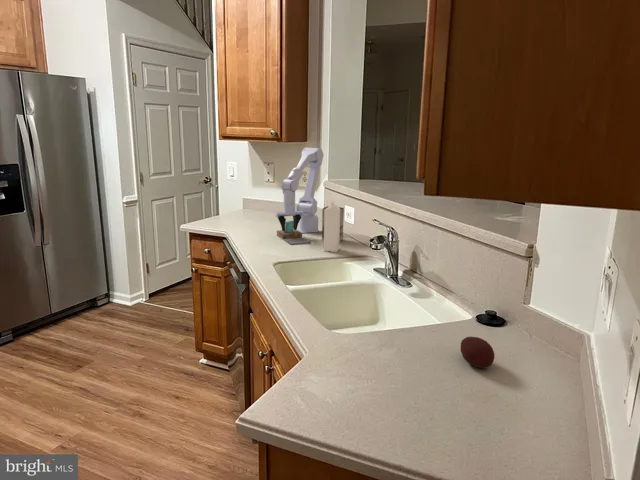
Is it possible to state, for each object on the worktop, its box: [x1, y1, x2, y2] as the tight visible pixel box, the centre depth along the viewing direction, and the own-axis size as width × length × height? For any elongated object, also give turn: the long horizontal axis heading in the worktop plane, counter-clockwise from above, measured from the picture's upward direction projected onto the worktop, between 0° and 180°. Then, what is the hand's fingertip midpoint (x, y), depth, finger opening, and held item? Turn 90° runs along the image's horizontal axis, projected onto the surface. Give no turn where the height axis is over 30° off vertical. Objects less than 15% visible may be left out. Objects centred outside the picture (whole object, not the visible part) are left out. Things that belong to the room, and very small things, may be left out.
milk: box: [323, 201, 340, 253], centre depth 207 cm, size 6×6×22 cm
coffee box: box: [321, 206, 345, 242], centre depth 227 cm, size 9×6×16 cm
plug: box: [285, 220, 294, 233], centre depth 233 cm, size 4×4×8 cm
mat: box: [283, 237, 311, 246], centre depth 224 cm, size 10×10×1 cm
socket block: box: [276, 229, 303, 241], centre depth 233 cm, size 10×10×2 cm
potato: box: [459, 336, 495, 369], centre depth 109 cm, size 7×10×6 cm
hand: (289, 230), depth 233 cm, fingers open, 6 cm apart
